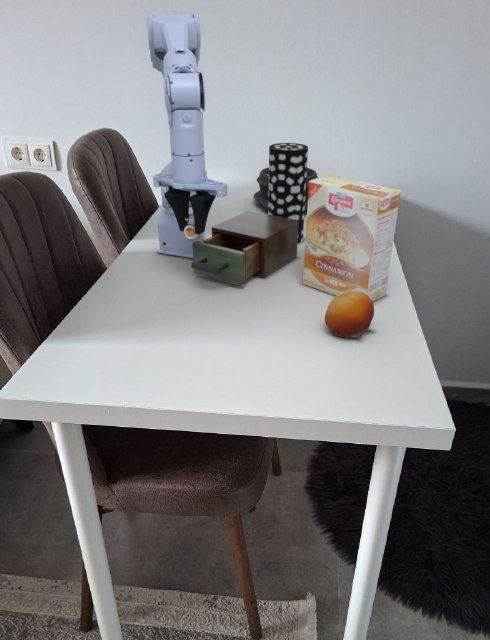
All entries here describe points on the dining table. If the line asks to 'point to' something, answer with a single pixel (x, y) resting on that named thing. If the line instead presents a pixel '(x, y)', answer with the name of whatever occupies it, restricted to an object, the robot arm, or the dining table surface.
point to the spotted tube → (288, 182)
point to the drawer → (227, 258)
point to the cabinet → (265, 237)
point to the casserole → (264, 180)
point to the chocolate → (190, 231)
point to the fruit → (350, 314)
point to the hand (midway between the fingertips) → (192, 231)
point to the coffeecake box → (349, 236)
